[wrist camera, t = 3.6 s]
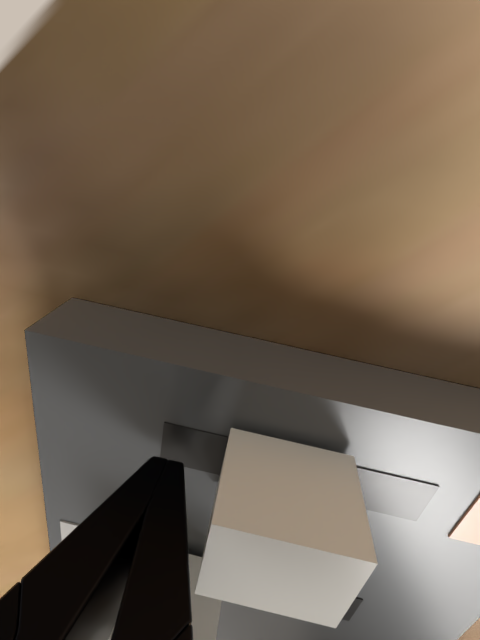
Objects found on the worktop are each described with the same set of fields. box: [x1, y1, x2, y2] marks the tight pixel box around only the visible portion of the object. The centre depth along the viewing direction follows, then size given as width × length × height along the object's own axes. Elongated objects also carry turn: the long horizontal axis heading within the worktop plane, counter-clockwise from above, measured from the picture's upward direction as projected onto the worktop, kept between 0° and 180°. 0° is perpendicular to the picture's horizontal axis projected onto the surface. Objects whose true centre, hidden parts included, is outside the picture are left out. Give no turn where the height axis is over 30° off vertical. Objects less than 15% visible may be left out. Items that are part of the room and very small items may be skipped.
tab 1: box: [108, 554, 222, 640], centre depth 10 cm, size 3×2×2 cm
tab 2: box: [195, 428, 378, 628], centre depth 8 cm, size 3×2×2 cm
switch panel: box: [25, 298, 480, 640], centre depth 12 cm, size 14×16×2 cm
